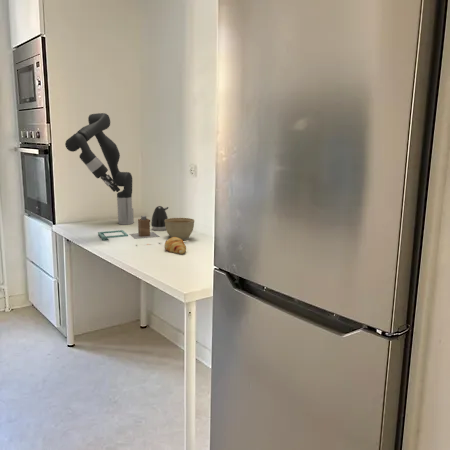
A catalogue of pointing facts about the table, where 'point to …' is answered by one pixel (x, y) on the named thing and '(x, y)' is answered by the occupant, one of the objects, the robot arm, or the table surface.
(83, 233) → the table surface
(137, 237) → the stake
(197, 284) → the table surface
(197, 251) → the table surface
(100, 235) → the tray
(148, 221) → the collar
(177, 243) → the croissant
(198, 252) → the table surface
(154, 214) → the black electric kettle
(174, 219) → the planter bowl
